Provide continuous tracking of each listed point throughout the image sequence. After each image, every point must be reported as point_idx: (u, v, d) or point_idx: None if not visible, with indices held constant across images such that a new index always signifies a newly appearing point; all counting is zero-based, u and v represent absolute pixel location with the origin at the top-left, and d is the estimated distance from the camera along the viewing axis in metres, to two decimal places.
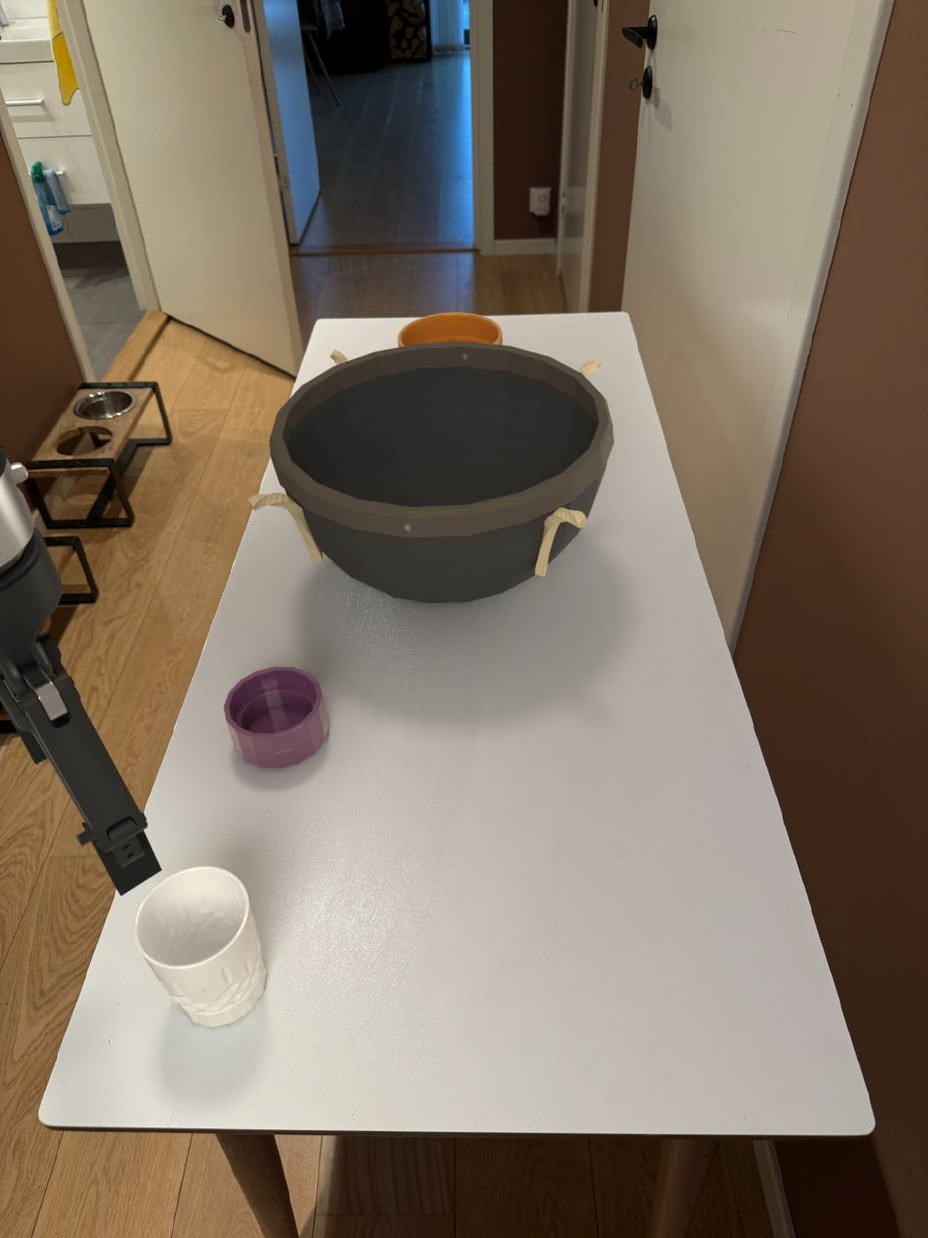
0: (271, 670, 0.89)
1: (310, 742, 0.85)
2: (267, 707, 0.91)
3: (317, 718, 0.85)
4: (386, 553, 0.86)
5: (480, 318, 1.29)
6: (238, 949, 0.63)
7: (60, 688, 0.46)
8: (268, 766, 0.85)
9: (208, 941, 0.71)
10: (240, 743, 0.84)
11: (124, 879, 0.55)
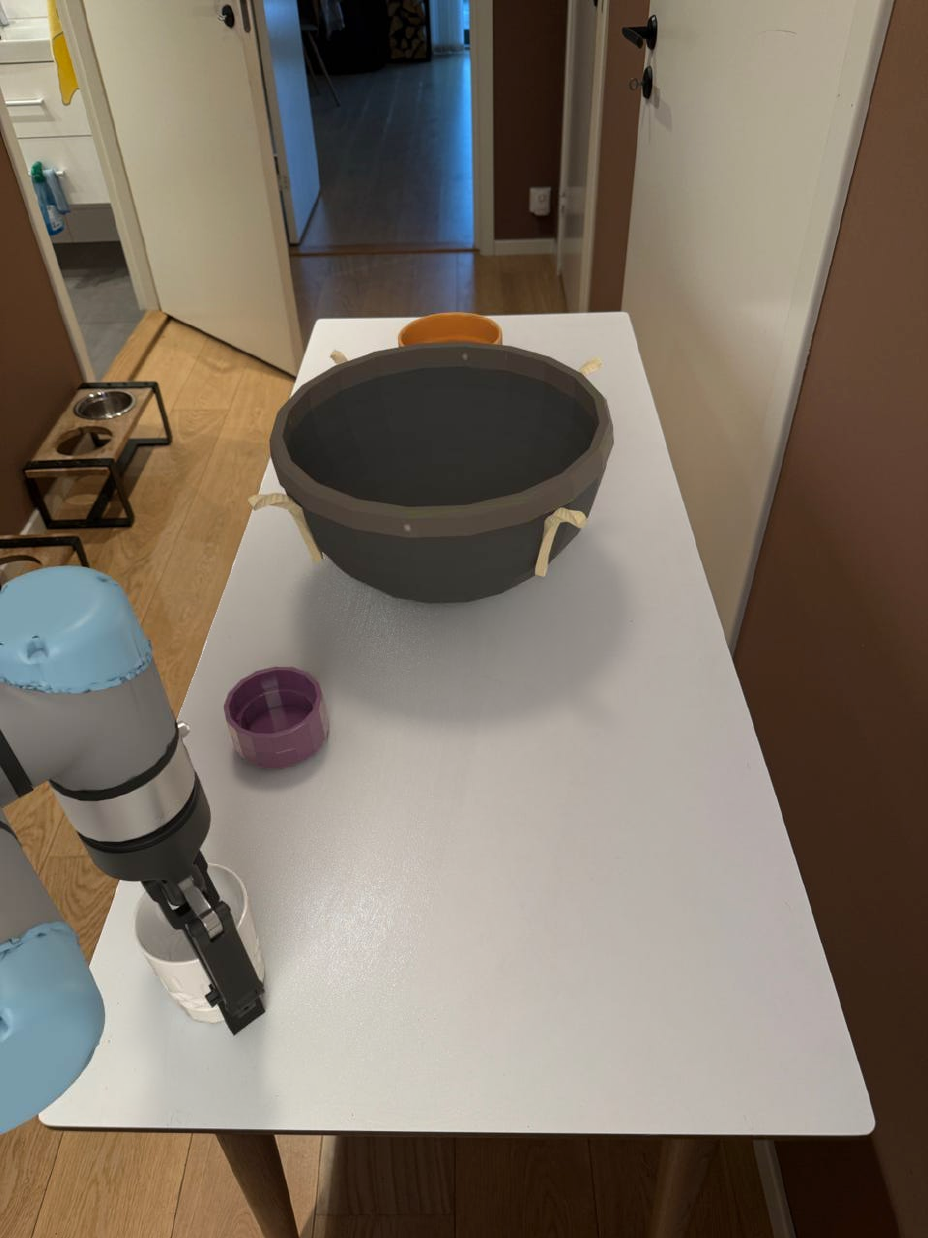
0: (271, 670, 0.89)
1: (310, 742, 0.85)
2: (267, 707, 0.91)
3: (317, 718, 0.85)
4: (386, 553, 0.86)
5: (480, 318, 1.29)
6: None
7: (222, 919, 0.56)
8: (268, 766, 0.85)
9: None
10: (240, 743, 0.84)
11: (237, 1023, 0.67)
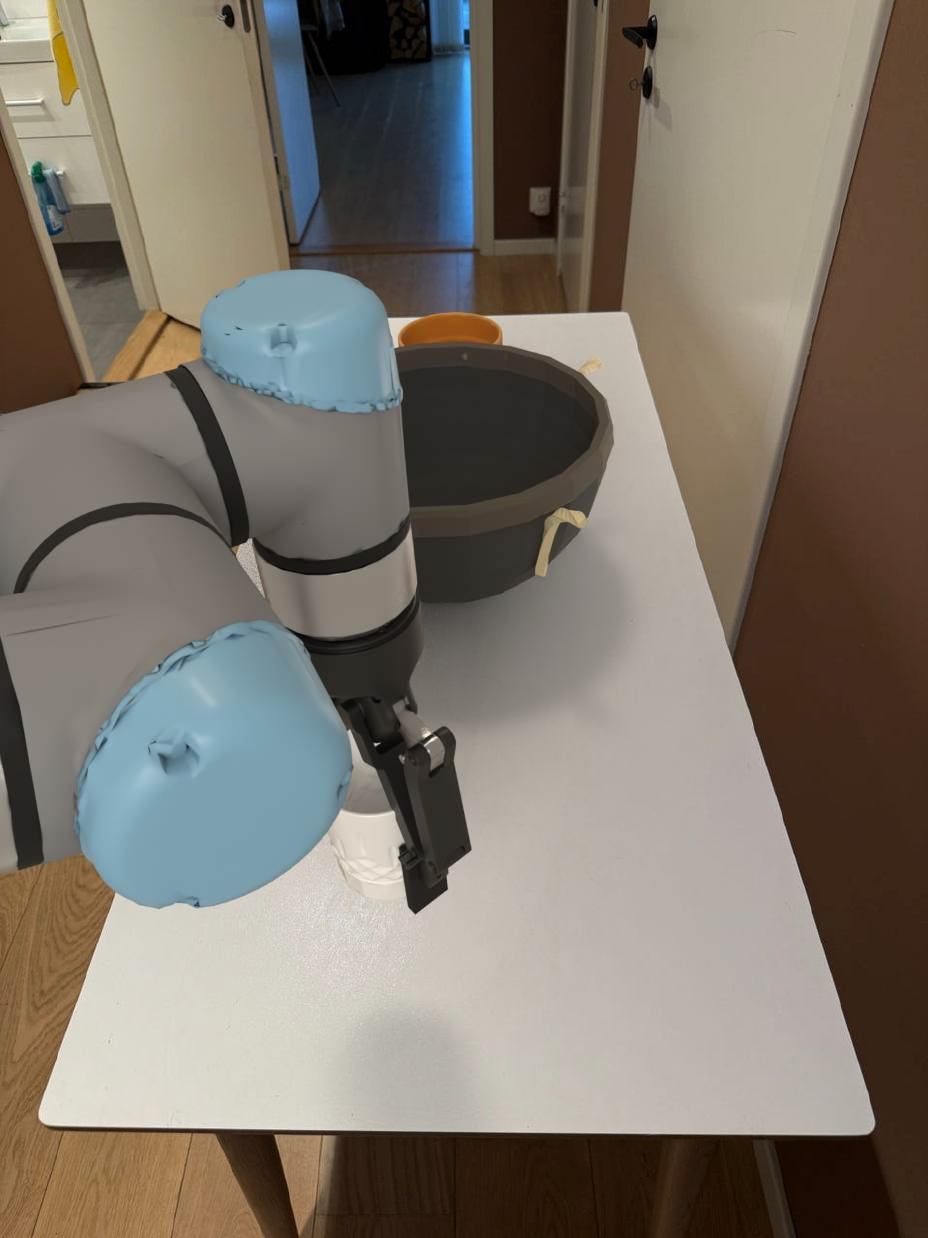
0: None
1: None
2: None
3: None
4: None
5: (480, 318, 1.29)
6: None
7: (446, 746, 0.47)
8: None
9: (372, 809, 0.62)
10: None
11: (421, 899, 0.58)
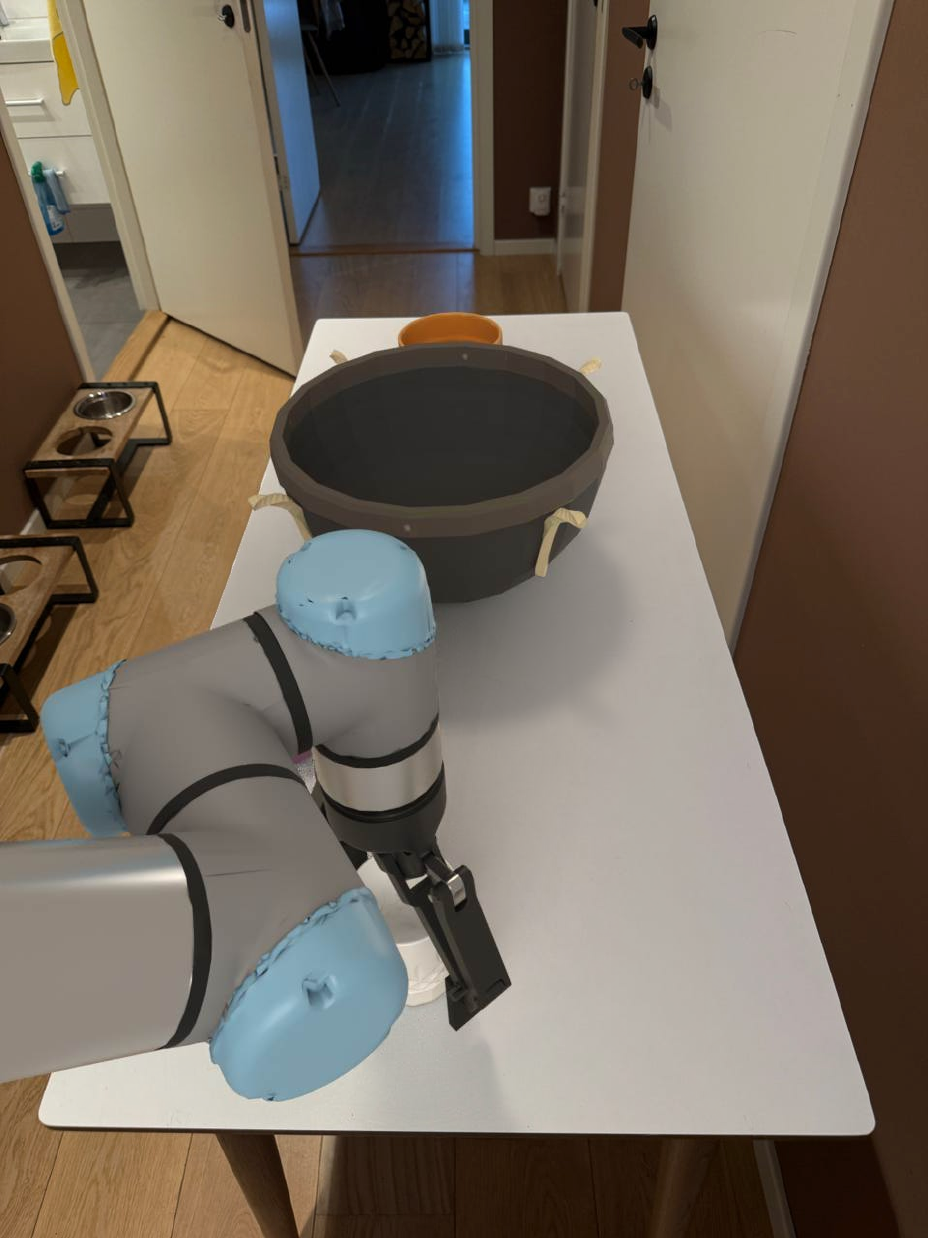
0: None
1: None
2: None
3: None
4: None
5: (480, 318, 1.29)
6: None
7: (465, 881, 0.55)
8: None
9: (398, 922, 0.72)
10: None
11: (461, 1018, 0.64)
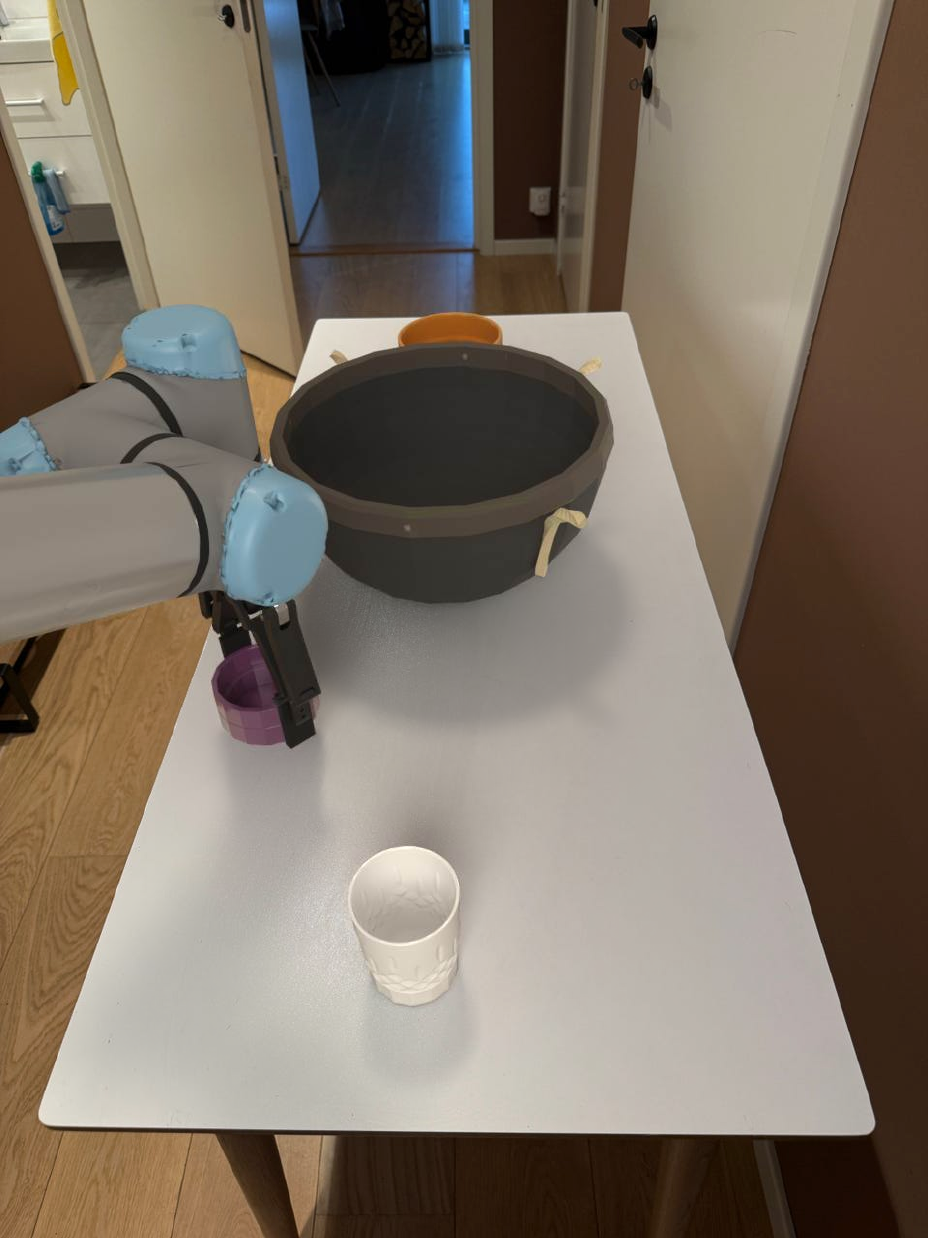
0: None
1: None
2: (256, 684, 0.88)
3: None
4: (386, 553, 0.86)
5: (480, 318, 1.29)
6: (452, 927, 0.64)
7: (289, 607, 0.72)
8: (256, 743, 0.83)
9: (398, 922, 0.72)
10: (228, 718, 0.82)
11: (294, 737, 0.82)
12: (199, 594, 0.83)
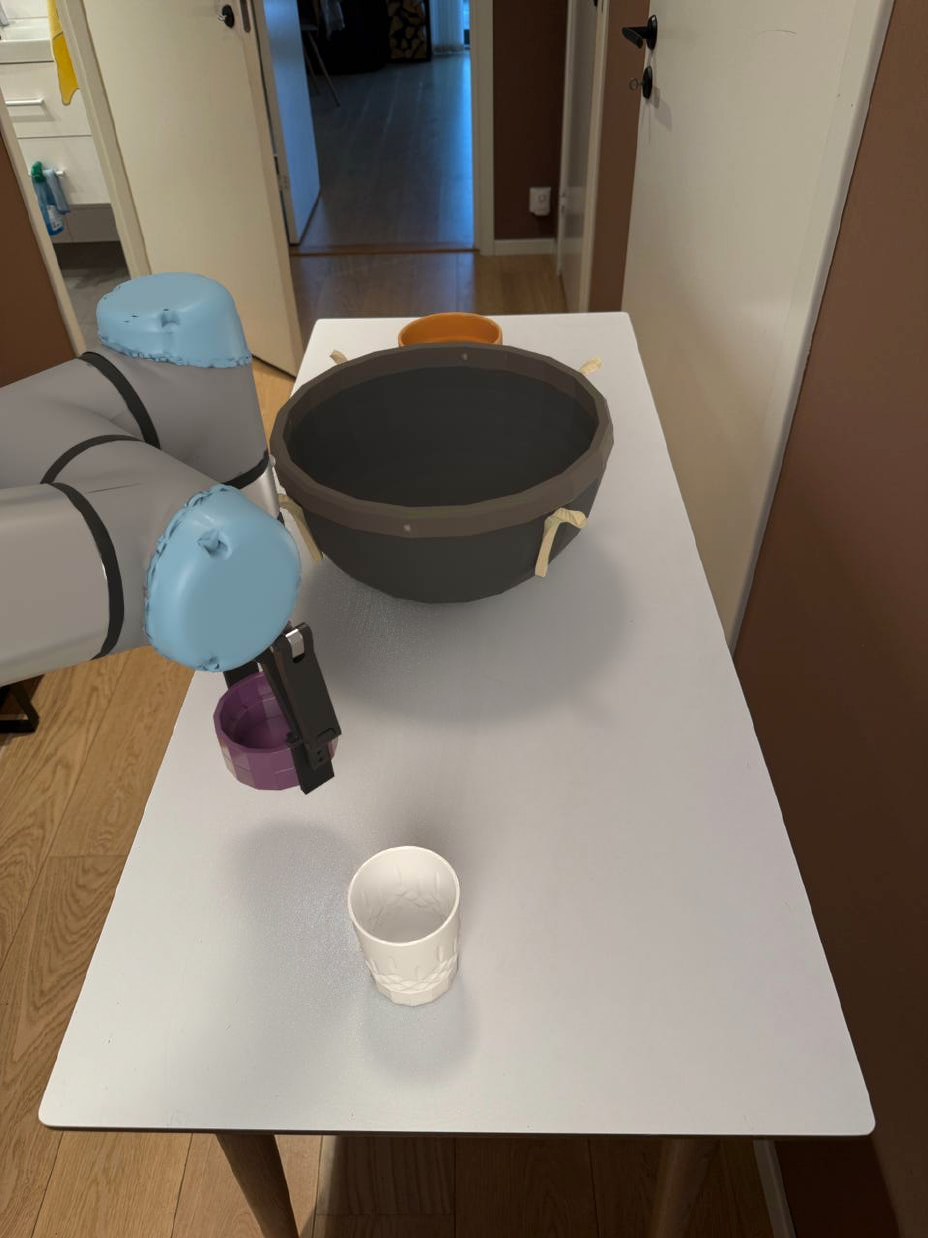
0: None
1: None
2: (265, 716, 0.77)
3: None
4: (386, 553, 0.86)
5: (480, 318, 1.29)
6: (452, 927, 0.64)
7: (304, 636, 0.60)
8: (266, 788, 0.71)
9: (398, 922, 0.72)
10: (232, 760, 0.70)
11: (309, 781, 0.71)
12: None
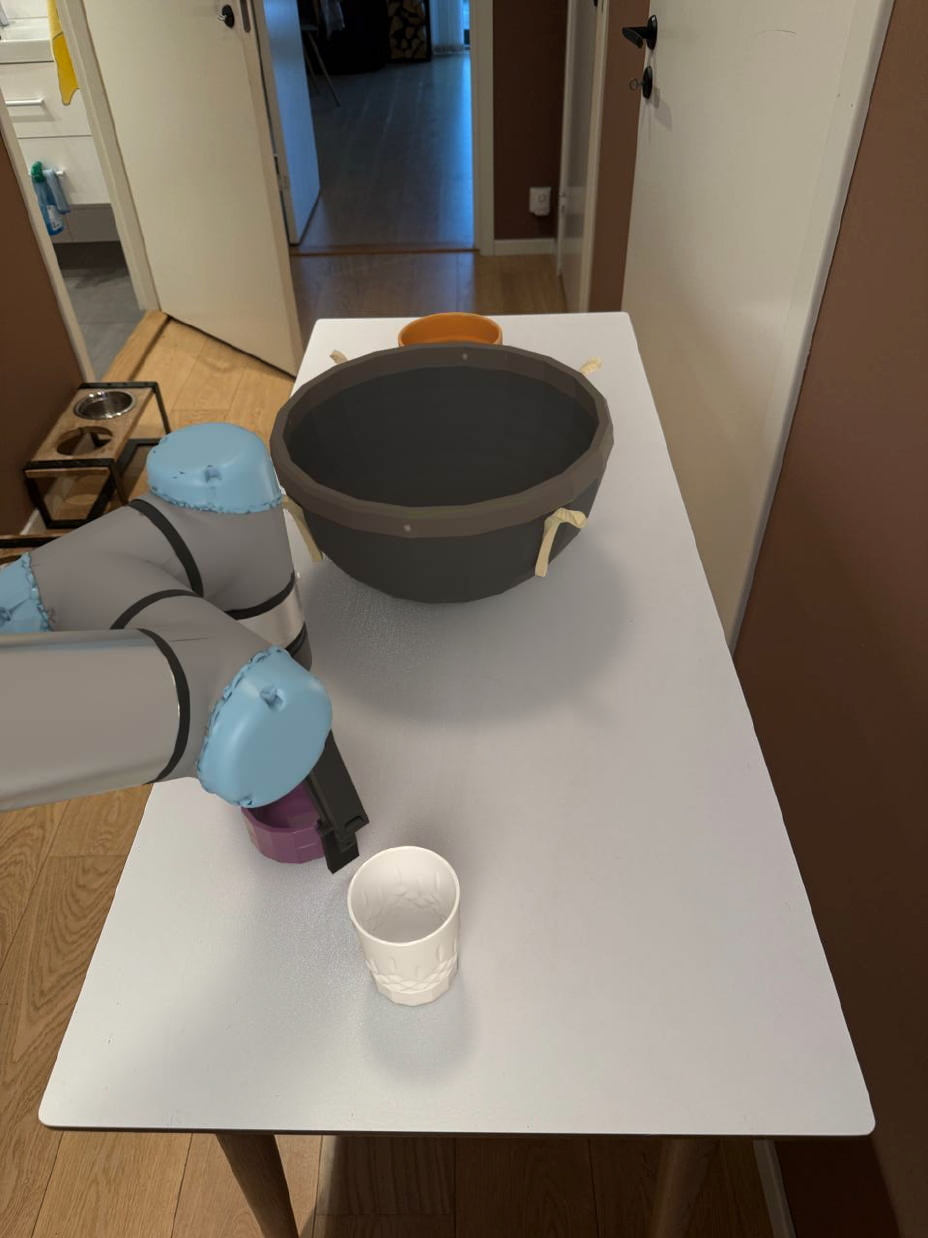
0: None
1: None
2: None
3: None
4: (386, 553, 0.86)
5: (480, 318, 1.29)
6: (452, 927, 0.64)
7: None
8: (288, 861, 0.78)
9: (398, 922, 0.72)
10: (257, 837, 0.77)
11: (336, 862, 0.75)
12: None
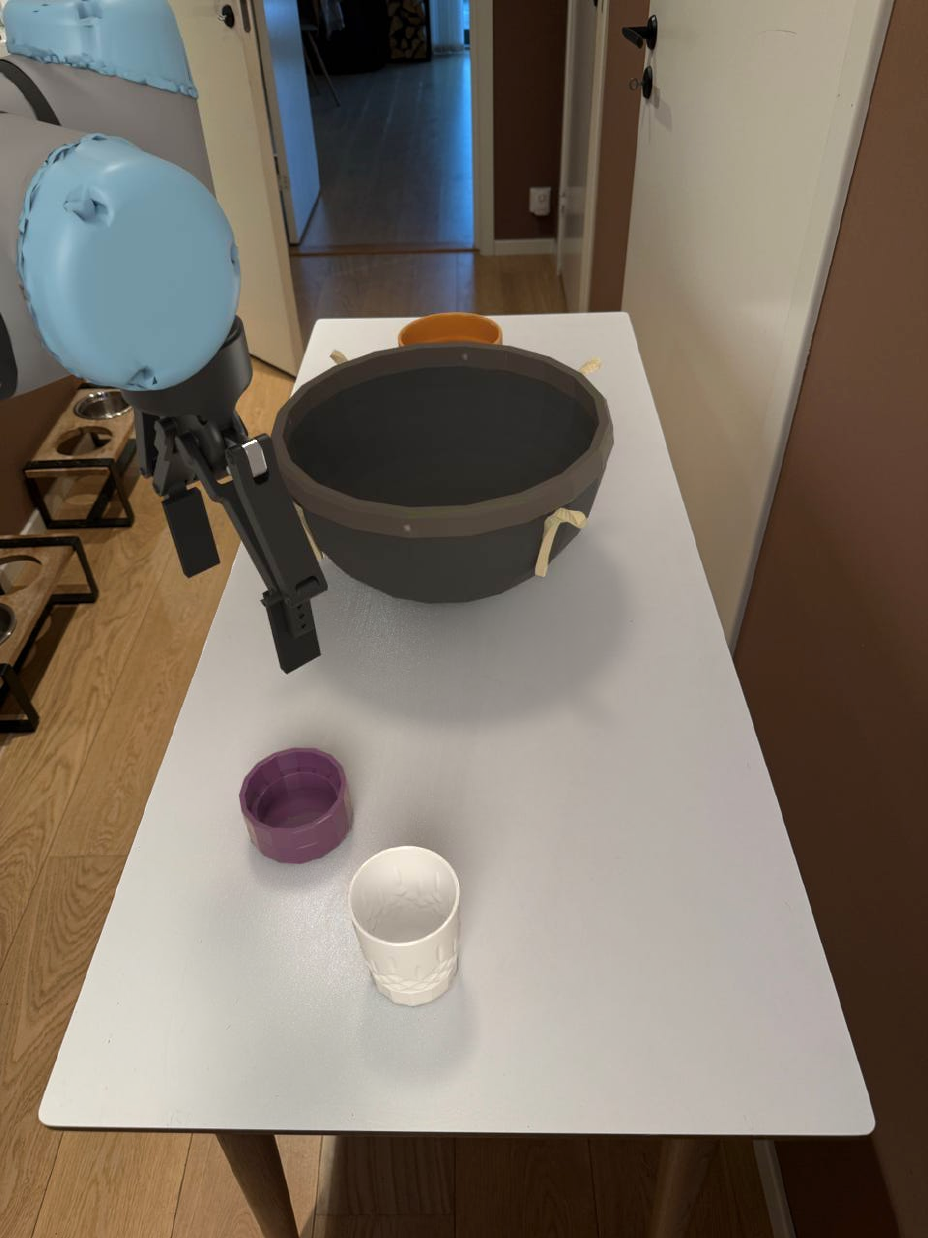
0: (290, 752, 0.81)
1: (334, 834, 0.78)
2: (285, 790, 0.83)
3: (342, 808, 0.77)
4: (386, 553, 0.86)
5: (480, 318, 1.29)
6: (452, 927, 0.64)
7: (263, 445, 0.51)
8: (288, 861, 0.78)
9: (398, 922, 0.72)
10: (257, 837, 0.77)
11: (291, 657, 0.60)
12: (138, 446, 0.63)
